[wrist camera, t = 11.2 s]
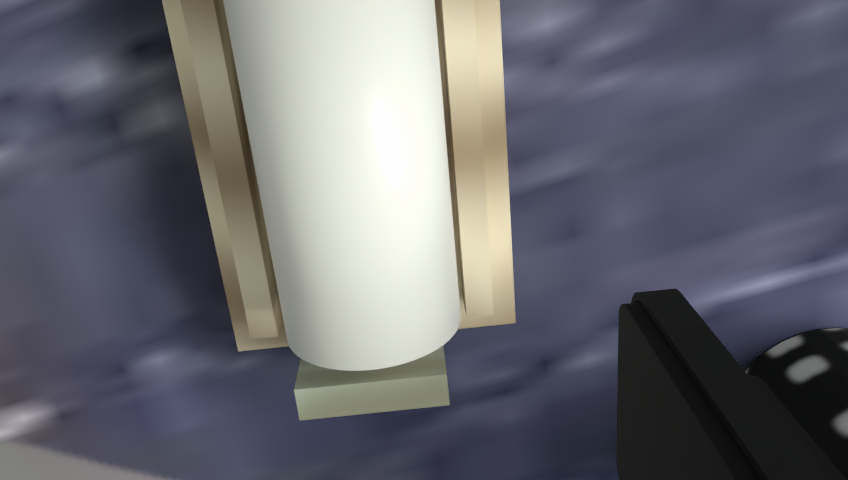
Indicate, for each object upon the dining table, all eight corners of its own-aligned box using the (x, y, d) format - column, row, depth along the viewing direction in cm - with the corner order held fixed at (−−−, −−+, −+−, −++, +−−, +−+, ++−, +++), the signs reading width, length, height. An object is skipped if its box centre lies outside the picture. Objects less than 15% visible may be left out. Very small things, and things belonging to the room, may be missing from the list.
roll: (229, -46, 23) (197, -42, 18) (416, -65, 24) (442, -67, 18) (292, 299, 28) (282, 387, 22) (447, 278, 28) (475, 359, 23)
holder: (153, -104, 24) (74, -118, 18) (486, -137, 24) (519, -162, 18) (245, 332, 30) (209, 429, 24) (509, 305, 30) (539, 395, 24)
